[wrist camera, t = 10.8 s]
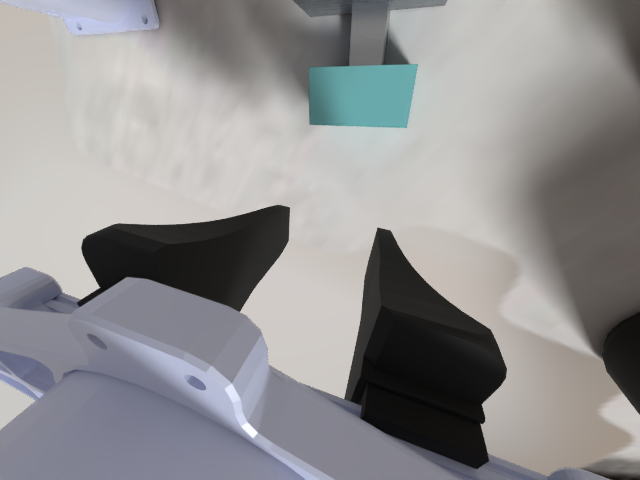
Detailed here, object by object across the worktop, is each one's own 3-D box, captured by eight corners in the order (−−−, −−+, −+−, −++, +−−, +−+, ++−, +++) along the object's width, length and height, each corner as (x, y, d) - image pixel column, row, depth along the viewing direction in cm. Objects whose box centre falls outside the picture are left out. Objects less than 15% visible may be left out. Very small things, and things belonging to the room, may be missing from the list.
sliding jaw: (311, 120, 18) (291, 124, 15) (309, -53, 14) (280, -103, 10) (420, 123, 16) (425, 129, 13) (461, -78, 12) (485, -149, 8)
